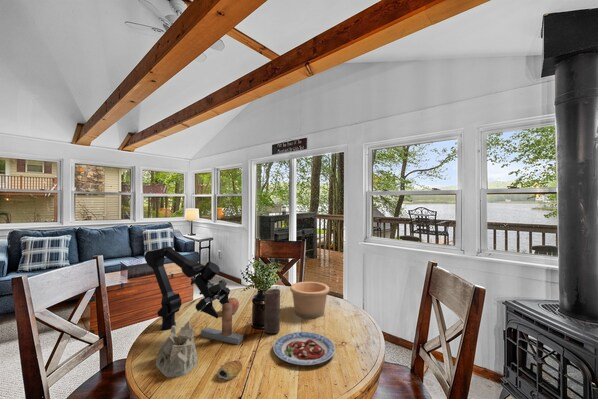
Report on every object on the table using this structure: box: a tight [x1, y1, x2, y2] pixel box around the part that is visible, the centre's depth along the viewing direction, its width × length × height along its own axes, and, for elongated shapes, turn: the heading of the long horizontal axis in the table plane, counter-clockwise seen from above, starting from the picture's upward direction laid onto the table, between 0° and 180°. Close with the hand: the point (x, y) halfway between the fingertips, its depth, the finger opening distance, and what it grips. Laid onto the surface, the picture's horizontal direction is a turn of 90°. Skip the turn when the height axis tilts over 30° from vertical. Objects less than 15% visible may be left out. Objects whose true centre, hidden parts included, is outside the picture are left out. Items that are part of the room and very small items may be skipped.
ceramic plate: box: [272, 331, 336, 366], centre depth 116 cm, size 26×26×3 cm
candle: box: [263, 288, 281, 334], centre depth 132 cm, size 8×7×20 cm
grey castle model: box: [155, 320, 199, 378], centre depth 105 cm, size 16×16×15 cm
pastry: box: [216, 360, 243, 381], centre depth 101 cm, size 9×7×4 cm
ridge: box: [200, 327, 244, 345], centre depth 125 cm, size 20×4×2 cm, turn 69°
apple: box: [228, 297, 240, 315], centre depth 154 cm, size 9×9×8 cm
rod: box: [221, 303, 233, 336], centre depth 124 cm, size 4×4×13 cm
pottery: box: [289, 281, 330, 320], centre depth 156 cm, size 22×22×14 cm
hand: (224, 313), depth 125 cm, fingers open, 9 cm apart
